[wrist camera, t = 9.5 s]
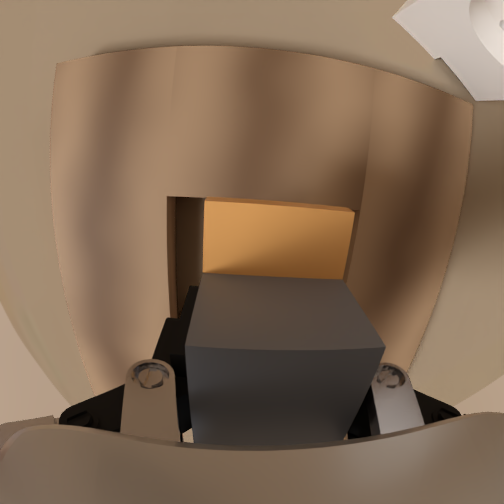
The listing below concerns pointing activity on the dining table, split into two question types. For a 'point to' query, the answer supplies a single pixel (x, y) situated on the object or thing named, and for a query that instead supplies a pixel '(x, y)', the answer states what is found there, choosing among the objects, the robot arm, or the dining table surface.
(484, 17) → the bracket
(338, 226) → the block
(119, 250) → the plate
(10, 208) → the dining table surface
